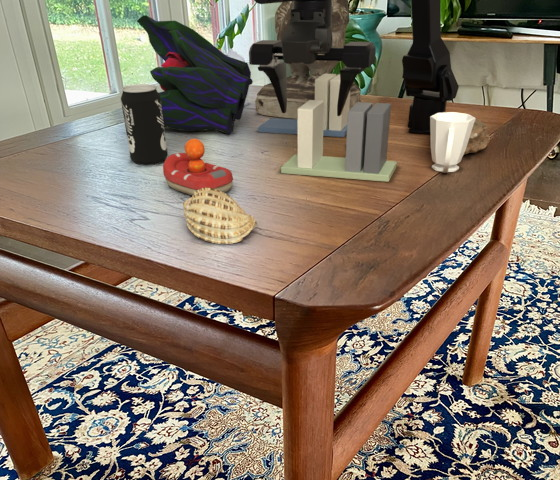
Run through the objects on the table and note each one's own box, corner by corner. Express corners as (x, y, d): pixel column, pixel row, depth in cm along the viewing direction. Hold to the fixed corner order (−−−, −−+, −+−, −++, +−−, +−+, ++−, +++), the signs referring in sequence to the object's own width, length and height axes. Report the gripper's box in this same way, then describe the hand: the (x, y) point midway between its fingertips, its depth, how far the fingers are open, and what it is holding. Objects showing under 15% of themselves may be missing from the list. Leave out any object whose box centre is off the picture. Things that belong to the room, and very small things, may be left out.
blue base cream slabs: (352, 127, 121) (355, 74, 115) (343, 137, 114) (346, 81, 109) (270, 122, 125) (269, 71, 119) (258, 131, 119) (256, 78, 113)
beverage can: (160, 167, 101) (150, 91, 94) (125, 165, 102) (112, 90, 95) (173, 156, 106) (164, 84, 99) (139, 155, 107) (128, 83, 100)
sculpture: (254, 114, 132) (247, -49, 114) (294, 101, 143) (293, -50, 125) (323, 124, 123) (328, -51, 106) (361, 109, 134) (371, -52, 117)
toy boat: (193, 176, 96) (187, 127, 92) (241, 191, 90) (238, 139, 85) (156, 187, 92) (148, 137, 87) (204, 204, 85) (199, 151, 81)
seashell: (248, 241, 81) (181, 210, 80) (265, 203, 78) (196, 170, 76) (240, 265, 75) (167, 232, 73) (258, 225, 72) (182, 189, 70)
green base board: (396, 167, 98) (402, 103, 92) (388, 182, 92) (394, 114, 86) (294, 159, 103) (294, 98, 97) (280, 173, 97) (279, 108, 91)
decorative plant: (221, 185, 121) (89, 138, 123) (264, 108, 133) (144, 66, 134) (223, 99, 102) (68, 45, 104) (274, 19, 114) (133, -29, 116)
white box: (322, 156, 100) (324, 100, 95) (312, 168, 95) (312, 109, 90) (308, 155, 101) (309, 99, 96) (297, 167, 96) (297, 108, 90)
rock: (489, 162, 99) (495, 131, 96) (425, 159, 102) (429, 128, 99) (486, 141, 110) (491, 113, 107) (428, 139, 112) (431, 111, 109)
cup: (466, 163, 99) (475, 112, 94) (467, 181, 91) (476, 127, 87) (424, 161, 101) (430, 111, 96) (422, 179, 93) (428, 125, 88)
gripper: (232, 4, 81) (239, 122, 90) (364, 3, 76) (357, 129, 85) (259, -2, 89) (263, 107, 98) (379, -3, 84) (372, 112, 94)
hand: (311, 114), depth 94 cm, fingers open, 9 cm apart
